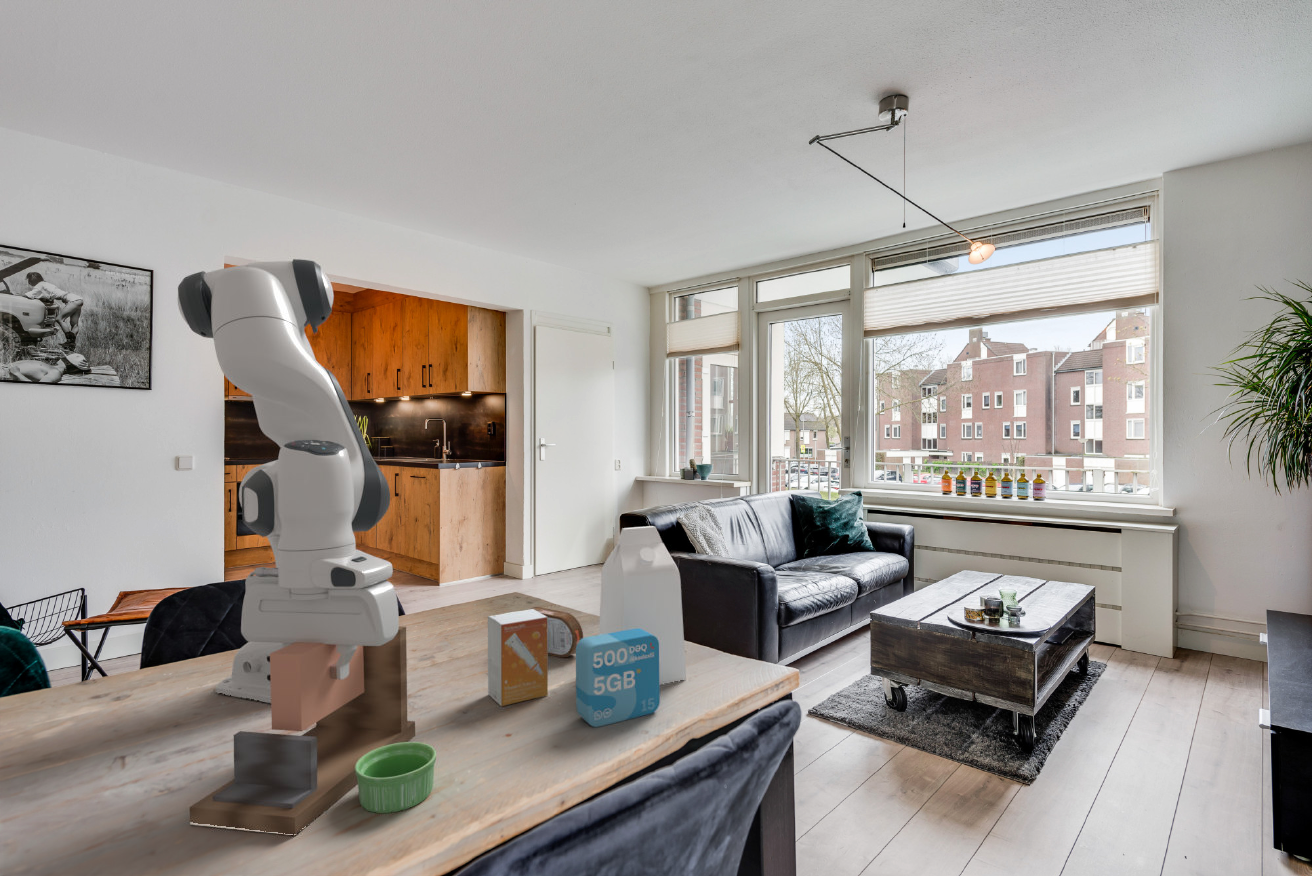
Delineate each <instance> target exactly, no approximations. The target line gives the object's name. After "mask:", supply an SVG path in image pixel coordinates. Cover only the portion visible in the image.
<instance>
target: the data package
mask: <svg viewBox="0 0 1312 876" xmlns="http://www.w3.org/2000/svg"><path fill="white" fill-rule="evenodd" d="M660 686H661V685H660V684H659V641H658V639H657V638H656V637H655V636H654V635H652V634H650V633H648V632H646V631H644V630H642V629H640V628H636V629H630V630H624V631H619V632H613V633H607V634H601V635H599V634H597V635H590V636H586V637H583V638H582V639H581V640H580V641H579V642H578V644H577V646H576V653H575V691H576V693H575V694H576V695H575V698H576V699H575V700H576V703H575V705H576V712H577V714H578V715H579V716H580V717H581V718H582V719H583V720H584V721H585V722H586V723H588V725H589V726H591V727H593V728H599V727H603V726H607V725H612V724H615V723H620V722H623V721H627V720H632V719H636V718H641V717H644V716H648V715H652V714H654V713H655V712H656V711H657V710H658V709H659V706H660V704H661V703H660V702H661V701H660V699H661V698H660V697H661V695H660V690H661V689H660Z"/></svg>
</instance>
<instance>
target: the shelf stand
mask: <svg viewBox="0 0 1312 876" xmlns="http://www.w3.org/2000/svg"><path fill="white" fill-rule="evenodd" d="M363 660H364V693H362V694H360V695H359V696H357V697H356V698H354V699H352V700H351V701H349V702H348V703H346V704H345V705H343V706H341V707H340V708H338V709H337V710H335V711H333V712H332V713H330V714H329V715H327V716H325V717H324V718H322V719H321V720H319V721H317V722H316V723H315V726H314V727H313V728H311V729H310V730H308V731H306V732H305V733H303V734H301V735H297V734H296V735H295V734H284V733H283V734H282V733H268V732H256V731H242V730H240V731H238V732H236V733H235V734H233V779H231V780H229V781H228V782H227V783H225V784H223V785H222V786H219V787H218V788H216V789H215V790H214V791H212V792H211V793H209V794H207V795H206V796H205V797H202V798H201V799H200V800H198V801H197V802H195V803H193V804H192V805H190V806H189V823H190V822H193V823H198V824H210V825H214V826H215V825H217V826H226V827H235V828H245V829H249V830H260V831H264V832H265V831H266V832H278V833H283V834H284V833H285V834H293V835H294V834H297V833H298V832H299V831H300V830H302V828H304V827H305V826H307V825H308V824H309V823H310V822H312V821H313V820H314V819H315V818H317V817H318V816H319V815H320V816H322V814H323V812H324V811H325V812H327V811H328V809H330V808H331V807H333V805H334V804H336V803H337V802H338V801H339V800H340V799H342V798H343V797H344V796H345V795H346V794H348V793H349V792H350V791H351V790H352V789H354V787H356V786H358V780H357V776H356V774H355V765H356V763H357V761H358V760H359V759H360V758H361V757H362V756H364V755H365V754H367V753H369V752H370V751H373V750H375V749H377V748H380V747H383V746H387V745H390V744H395V743H402V742H410V740H412V739H413V738H414V737H416V721H414V720H408V677H407V676H408V671H407V667H408V665H407V662H408V659H407V626H399V629H398V632H397V634H396V636H395V637H394V638H393V639H392V640H391V641H389V642H387V643H385V644H383V645H381V646H363ZM342 796H343V797H342ZM336 801H337V802H336ZM329 807H330V808H329ZM325 812H324V813H325ZM320 816H319V817H320ZM319 817H318V818H319ZM318 818H317V819H318ZM315 820H316V819H315ZM315 820H314V821H315ZM314 821H313V822H314ZM313 822H312V823H313ZM309 825H310V824H309ZM309 825H308V826H309ZM308 826H307V827H308ZM302 831H303V830H302Z"/></svg>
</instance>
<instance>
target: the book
mask: <svg viewBox="0 0 1312 876" xmlns="http://www.w3.org/2000/svg"><path fill="white" fill-rule="evenodd" d="M340 655H341V653H337V645H330V644H325V643H304V642H295V643H293V644H291V645H289V646H286V647H284V648H282V649H279V650H277V651H275V652H272V653H270V678H271V703H270V704H271V705H270V707H271V711H270V713H271V730H274V731H275V730H277V731H290V732H303V731H305V730H306V729H309V728H310V727H311V726H313V725H315V724H316V722H317V721H319V720H321V719H322V718H324V717H325V716H327V715H329V714H330V713H332V712H333V711H335V710H337V709H338V708H340V707H341V706H343V705H345V704H346V703H348V702H349V701H351V700H352V699H354V698H356V697H357V696H359V695H360V694H362V693H364V660H363V646H357V649H356V651H355V653H354V655H353V657H352V659H351V660H350V662H349V675H348V676H347V677H346V678H344V679H342V680H340V679H331V678H330V674H331V672H330V666H331V665H333V664H335V663H337V661H338V659H339V657H340Z"/></svg>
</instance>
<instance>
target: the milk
mask: <svg viewBox="0 0 1312 876" xmlns="http://www.w3.org/2000/svg"><path fill="white" fill-rule="evenodd" d="M600 580H601V581H600V582H601V583H600V599H599V600H600V603H599V604H600V605H599V621H598V622H599V623H598V624H599V626H598V635H601V634H607V633H613V632H619V631H624V630H630V629H636V628H640V629H642V630H644V631H646V632H648V633H650V634H652V635H654V636H655V637H656V638H657V639H658V641H659V684H663V683H668V684H671V683H670V682H673V681H678V682H680V681H679V680H683V679H686V680H687V672H686V671H687V670H686V669H687V668H686V656H685V653H686V652H685V637H684V636H685V635H684V622H683V620H684V619H683V618H684V617H683V603H682V588H681V587H682V584H681V583H682V582H681V573H680V570H679V568H678V566H677V564H676V562H675V561H674V559H673V557H672V555H671V554H670V552H669V551H668V549H667V547H666V545H665V543H664V542H663V540H662V538H661V536H660V533H659V531H658V530H657V526H654V525H650V526H649V525H647V526H634V527H624V528H623V527H622V528H621V531H620V533H619V537H618V540H617V543H616V545H615V546H614V548H613V550H611V553H610V554H609V555H608V557H607V558H606V559H605V561H604V563H603V565H602V570H601V578H600ZM673 683H674V682H673ZM663 685H664V684H663Z"/></svg>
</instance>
